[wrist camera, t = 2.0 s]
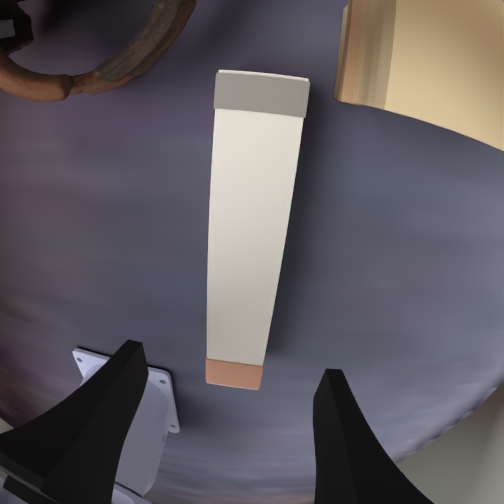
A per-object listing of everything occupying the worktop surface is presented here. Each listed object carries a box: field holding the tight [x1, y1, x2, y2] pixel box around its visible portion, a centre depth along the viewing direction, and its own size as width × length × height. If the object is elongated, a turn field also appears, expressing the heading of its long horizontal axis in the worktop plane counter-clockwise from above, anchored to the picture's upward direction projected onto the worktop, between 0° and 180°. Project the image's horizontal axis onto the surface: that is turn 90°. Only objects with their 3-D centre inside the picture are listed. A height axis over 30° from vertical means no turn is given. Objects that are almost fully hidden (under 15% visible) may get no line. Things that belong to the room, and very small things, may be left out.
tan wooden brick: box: [333, 0, 504, 152], centre depth 7 cm, size 4×7×6 cm, turn 85°
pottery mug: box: [0, 0, 196, 101], centre depth 7 cm, size 12×10×8 cm
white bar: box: [206, 70, 310, 390], centre depth 13 cm, size 15×3×3 cm, turn 175°
